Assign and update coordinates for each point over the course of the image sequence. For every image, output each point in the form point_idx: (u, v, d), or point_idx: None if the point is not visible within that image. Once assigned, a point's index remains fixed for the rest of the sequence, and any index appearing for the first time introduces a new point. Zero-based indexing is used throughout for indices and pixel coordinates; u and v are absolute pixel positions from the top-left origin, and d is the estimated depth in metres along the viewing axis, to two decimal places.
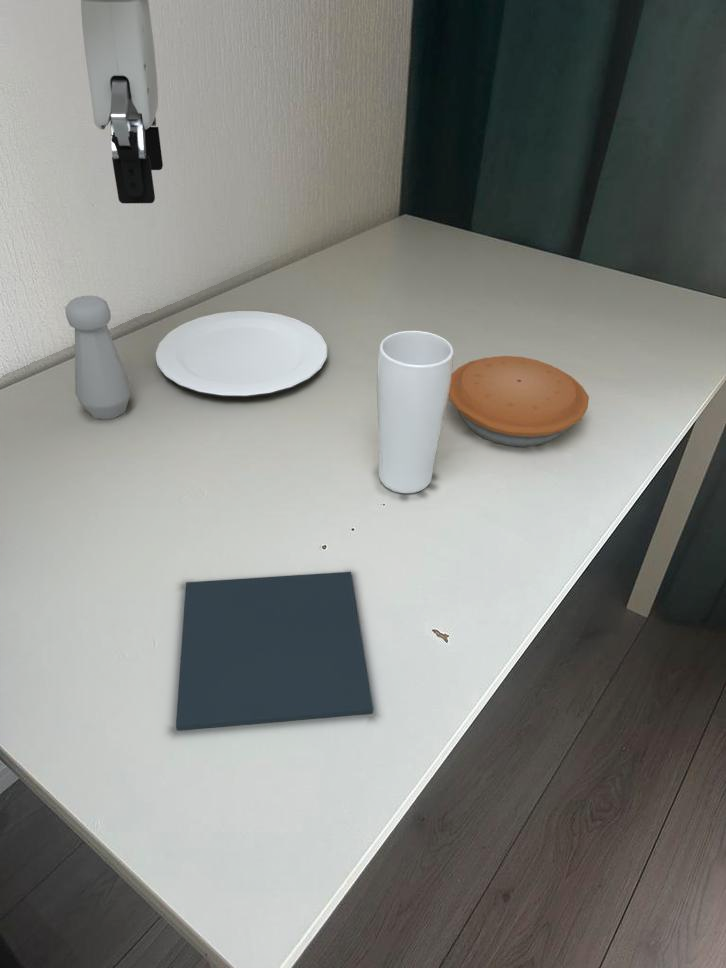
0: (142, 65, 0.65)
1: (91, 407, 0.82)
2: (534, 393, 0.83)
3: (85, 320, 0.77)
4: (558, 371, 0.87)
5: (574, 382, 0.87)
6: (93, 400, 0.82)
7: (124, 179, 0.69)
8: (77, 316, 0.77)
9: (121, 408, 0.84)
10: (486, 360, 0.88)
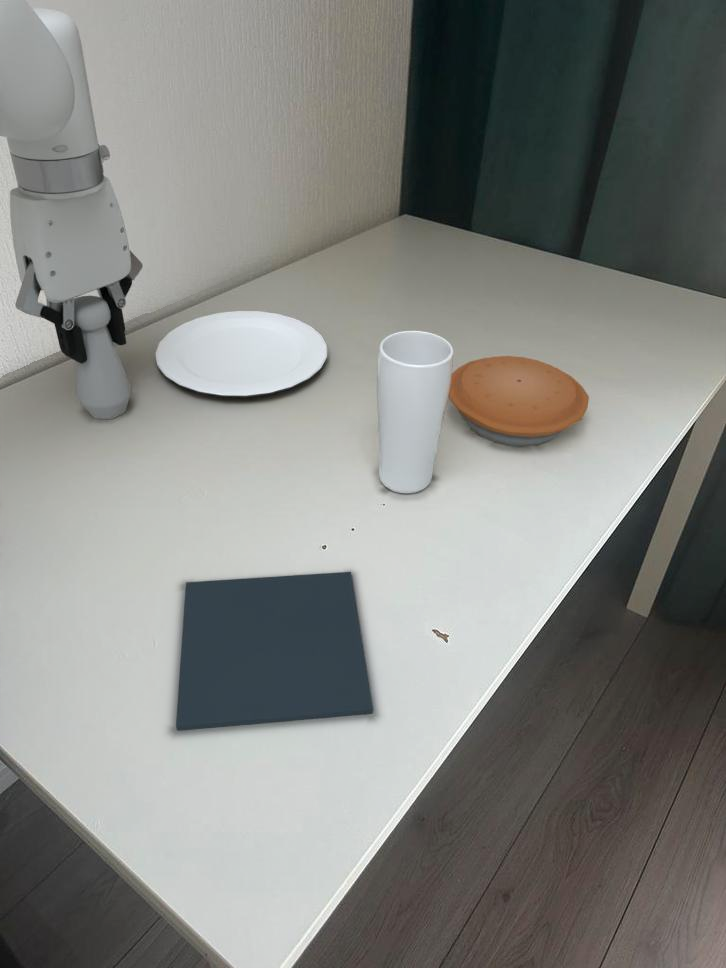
0: (42, 253, 0.70)
1: (91, 407, 0.82)
2: (534, 393, 0.83)
3: (85, 320, 0.77)
4: (558, 371, 0.87)
5: (574, 382, 0.87)
6: (93, 400, 0.82)
7: (58, 339, 0.78)
8: (77, 316, 0.77)
9: (121, 408, 0.84)
10: (486, 360, 0.88)
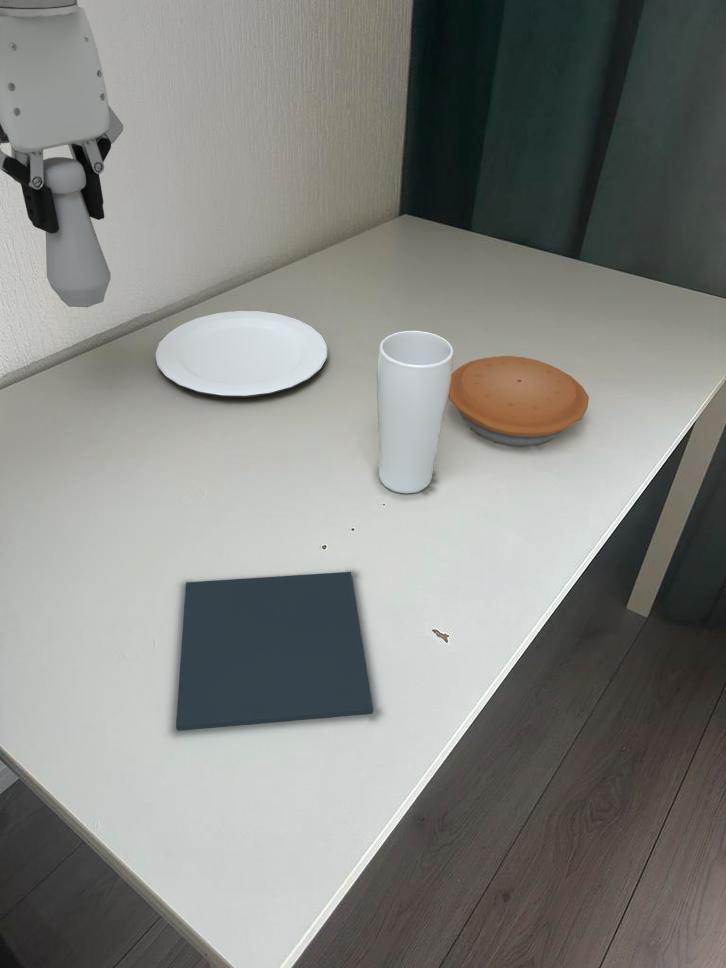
0: (5, 84, 0.60)
1: (64, 290, 0.73)
2: (534, 393, 0.83)
3: (56, 180, 0.67)
4: (558, 371, 0.87)
5: (574, 382, 0.87)
6: (66, 281, 0.72)
7: (25, 203, 0.68)
8: (47, 175, 0.67)
9: (98, 294, 0.74)
10: (486, 360, 0.88)
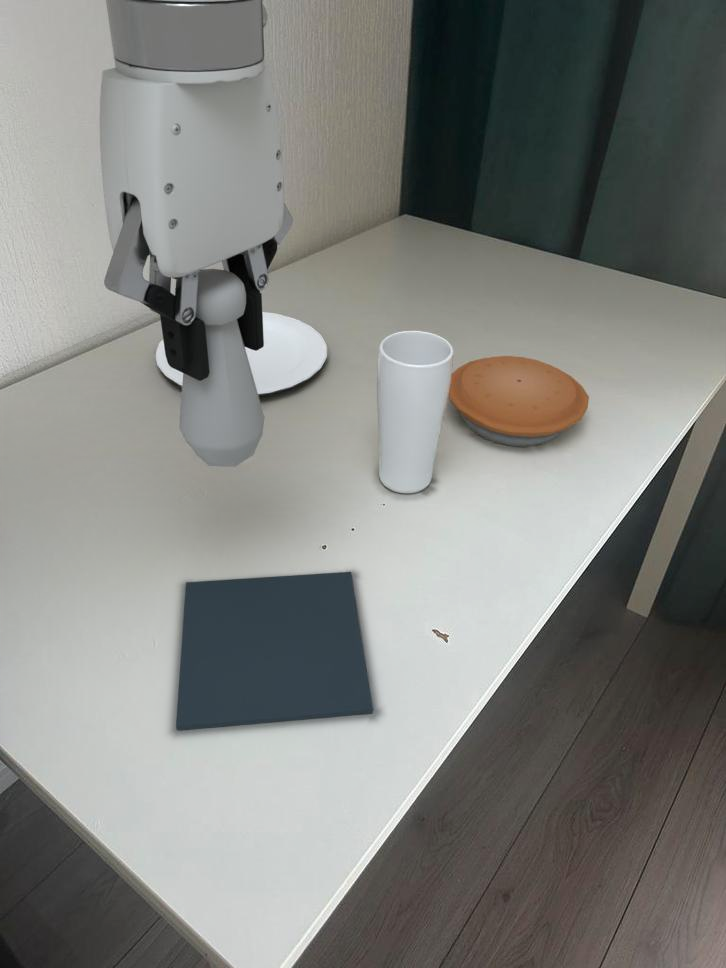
0: (160, 186, 0.39)
1: (207, 449, 0.51)
2: (534, 393, 0.83)
3: (212, 309, 0.46)
4: (558, 371, 0.87)
5: (574, 382, 0.87)
6: (212, 438, 0.51)
7: (164, 340, 0.47)
8: (199, 301, 0.46)
9: (251, 449, 0.53)
10: (486, 360, 0.88)
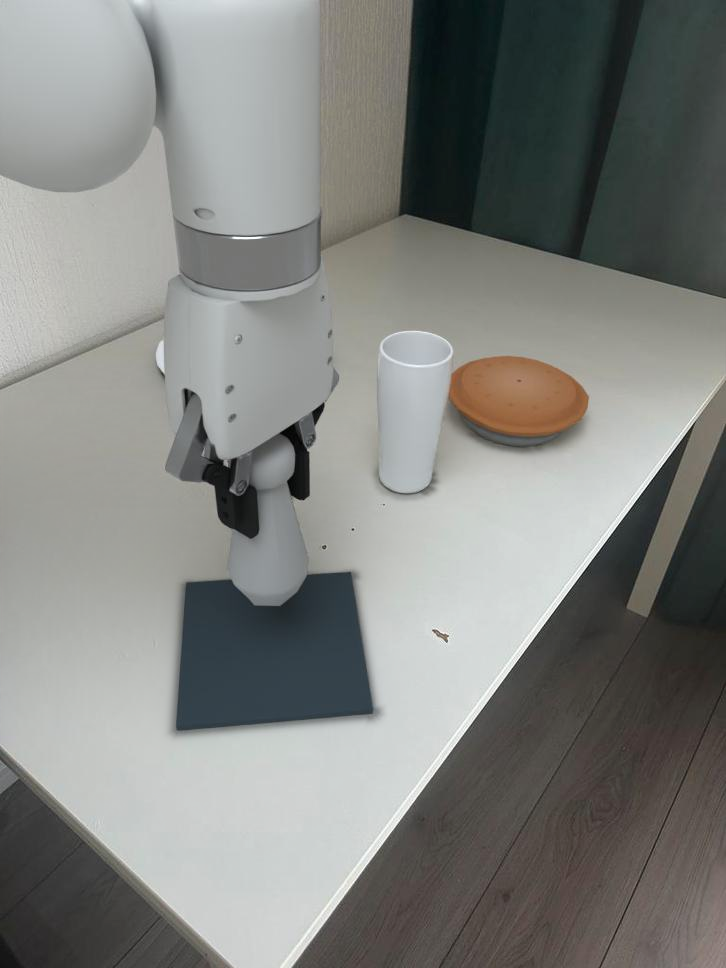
0: (222, 388, 0.41)
1: (255, 594, 0.53)
2: (534, 393, 0.83)
3: (264, 476, 0.48)
4: (558, 371, 0.87)
5: (574, 382, 0.87)
6: (259, 585, 0.53)
7: (217, 503, 0.49)
8: (252, 470, 0.47)
9: None
10: (486, 360, 0.88)
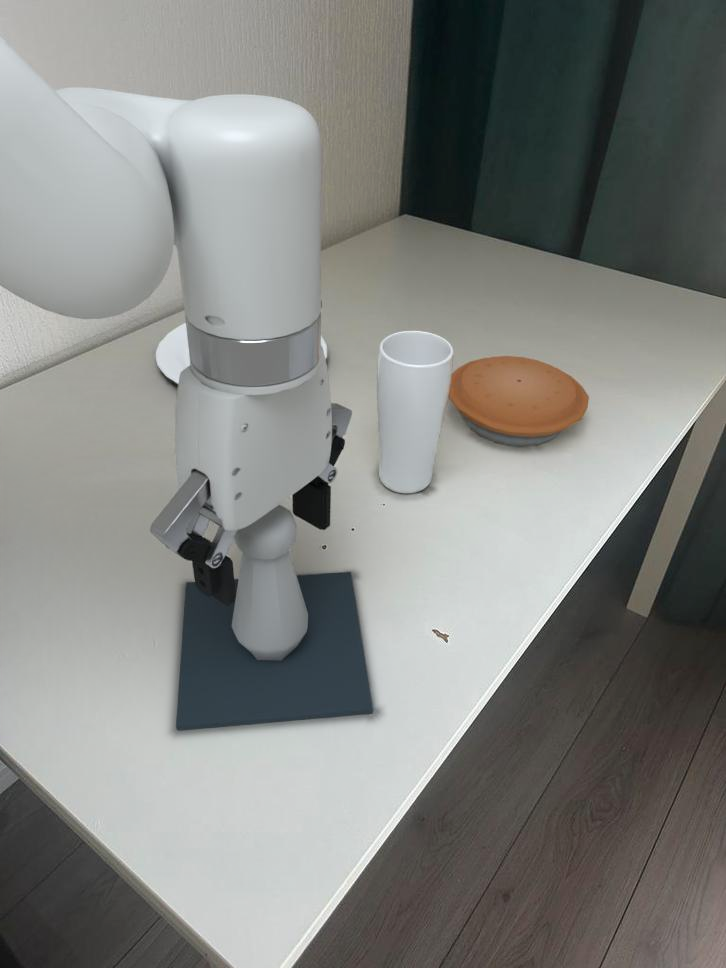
0: (229, 471, 0.44)
1: (258, 651, 0.57)
2: (534, 393, 0.83)
3: (267, 548, 0.51)
4: (558, 371, 0.87)
5: (574, 382, 0.87)
6: (262, 644, 0.56)
7: (194, 572, 0.50)
8: (256, 543, 0.51)
9: None
10: (486, 360, 0.88)
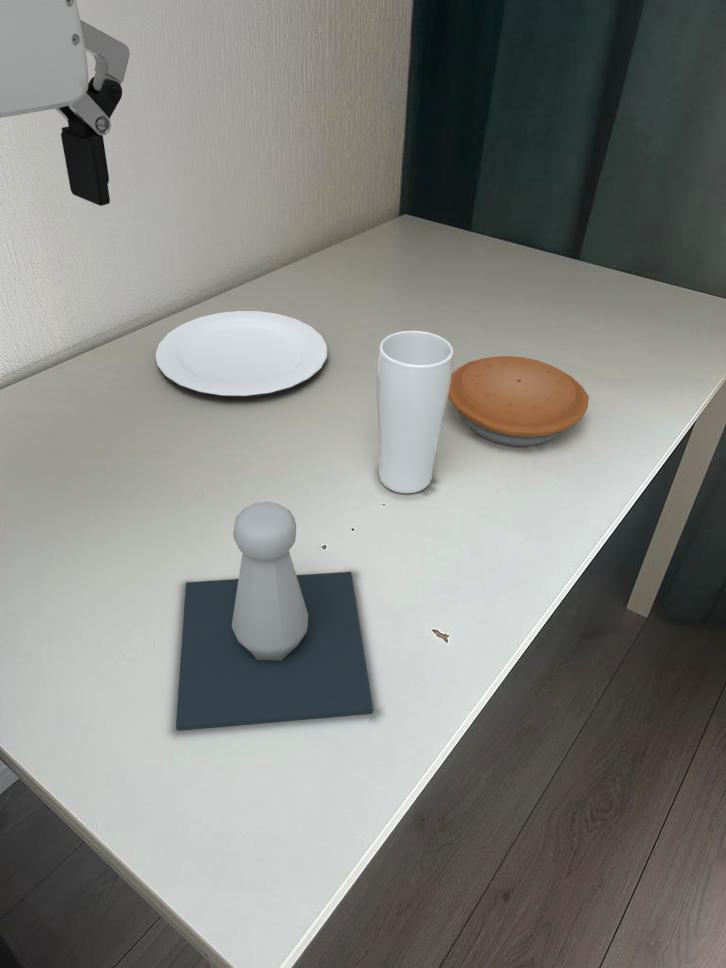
0: None
1: (258, 651, 0.57)
2: (534, 393, 0.83)
3: (267, 548, 0.51)
4: (558, 371, 0.87)
5: (574, 382, 0.87)
6: (262, 644, 0.56)
7: None
8: (256, 543, 0.51)
9: None
10: (486, 360, 0.88)
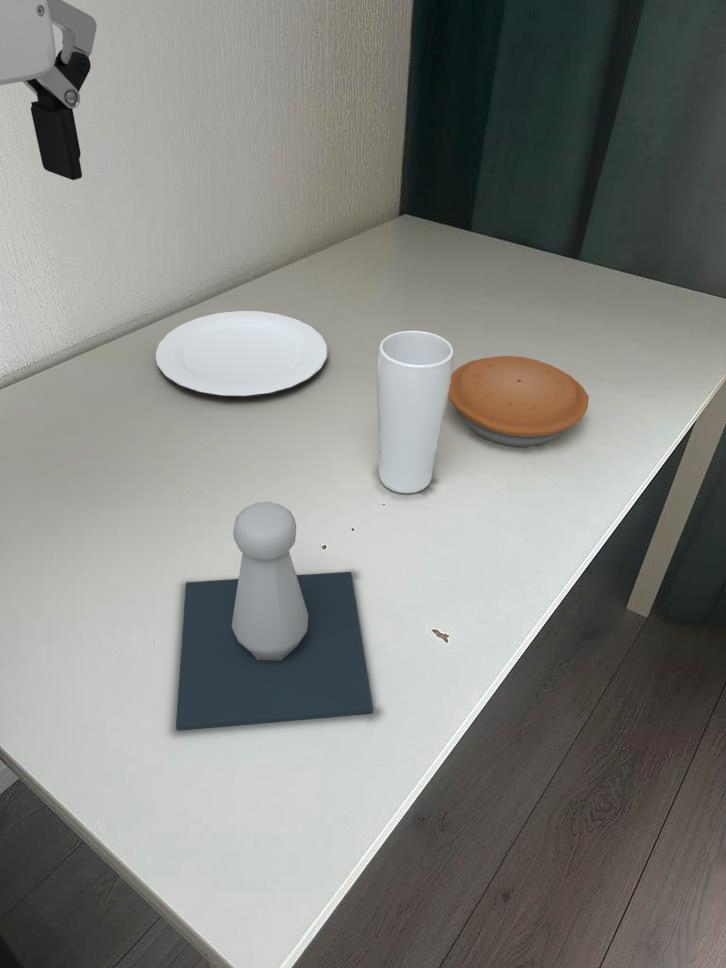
0: None
1: (258, 651, 0.57)
2: (534, 393, 0.83)
3: (267, 548, 0.51)
4: (558, 371, 0.87)
5: (574, 382, 0.87)
6: (262, 644, 0.56)
7: None
8: (256, 543, 0.51)
9: None
10: (486, 360, 0.88)
